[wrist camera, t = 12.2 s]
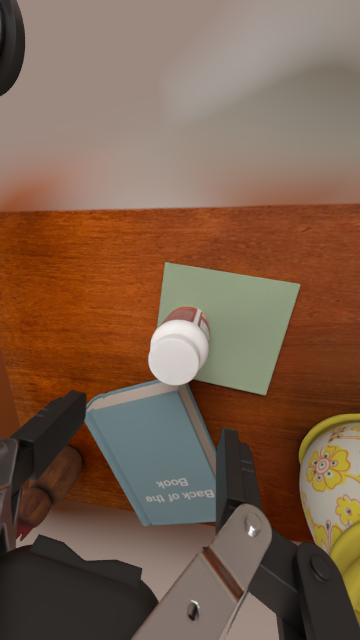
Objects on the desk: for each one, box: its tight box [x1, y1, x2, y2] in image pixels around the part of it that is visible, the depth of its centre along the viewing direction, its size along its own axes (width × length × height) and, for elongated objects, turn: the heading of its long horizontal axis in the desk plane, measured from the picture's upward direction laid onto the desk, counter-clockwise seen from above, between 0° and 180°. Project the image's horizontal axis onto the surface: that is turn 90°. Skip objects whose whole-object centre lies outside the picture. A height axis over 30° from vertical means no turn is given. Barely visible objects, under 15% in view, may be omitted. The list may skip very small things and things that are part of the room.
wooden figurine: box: [16, 446, 82, 541], centre depth 34 cm, size 7×6×15 cm
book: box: [84, 379, 217, 526], centre depth 34 cm, size 23×16×5 cm
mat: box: [157, 262, 300, 395], centre depth 29 cm, size 16×17×1 cm
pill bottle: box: [148, 306, 210, 385], centre depth 24 cm, size 6×6×11 cm
